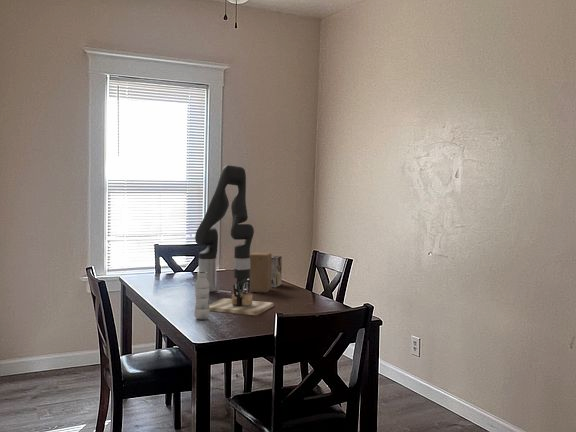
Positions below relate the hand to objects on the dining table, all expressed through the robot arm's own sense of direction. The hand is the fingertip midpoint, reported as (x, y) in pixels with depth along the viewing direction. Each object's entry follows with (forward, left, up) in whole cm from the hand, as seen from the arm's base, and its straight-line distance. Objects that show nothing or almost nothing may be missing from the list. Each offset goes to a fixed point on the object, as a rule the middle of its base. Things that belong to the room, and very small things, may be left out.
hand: (241, 303), depth 268 cm
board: (-1, 0, -2) cm, 2 cm away
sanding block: (0, 0, 0) cm, 0 cm away
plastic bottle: (-7, -25, -2) cm, 26 cm away
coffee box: (-6, +56, -2) cm, 57 cm away
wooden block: (-7, +40, -2) cm, 41 cm away
